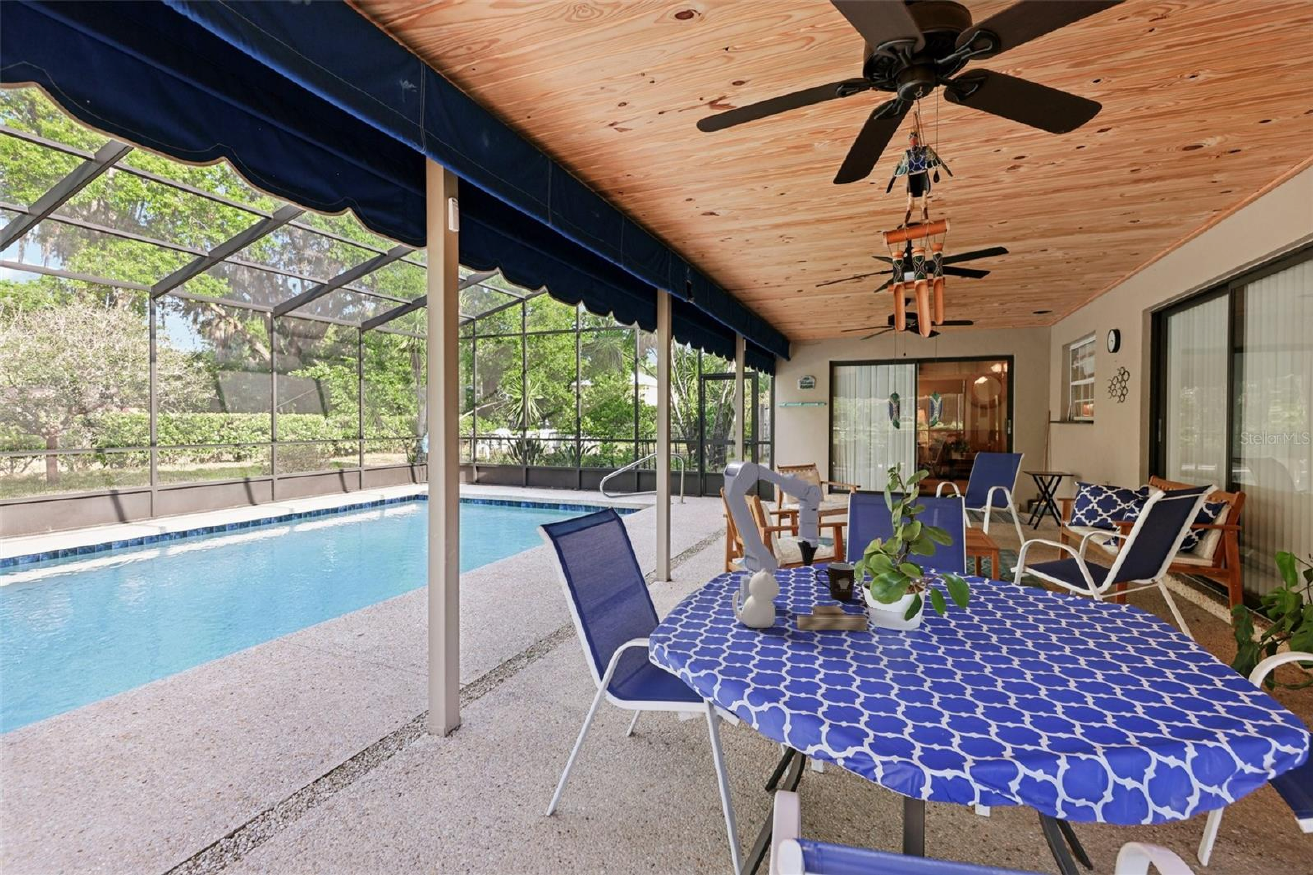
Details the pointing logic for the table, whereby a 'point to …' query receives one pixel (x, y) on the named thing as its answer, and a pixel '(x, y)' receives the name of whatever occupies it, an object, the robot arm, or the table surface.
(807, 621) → the board
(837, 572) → the coffee mug
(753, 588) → the cat figurine
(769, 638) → the table surface
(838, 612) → the walnut block
